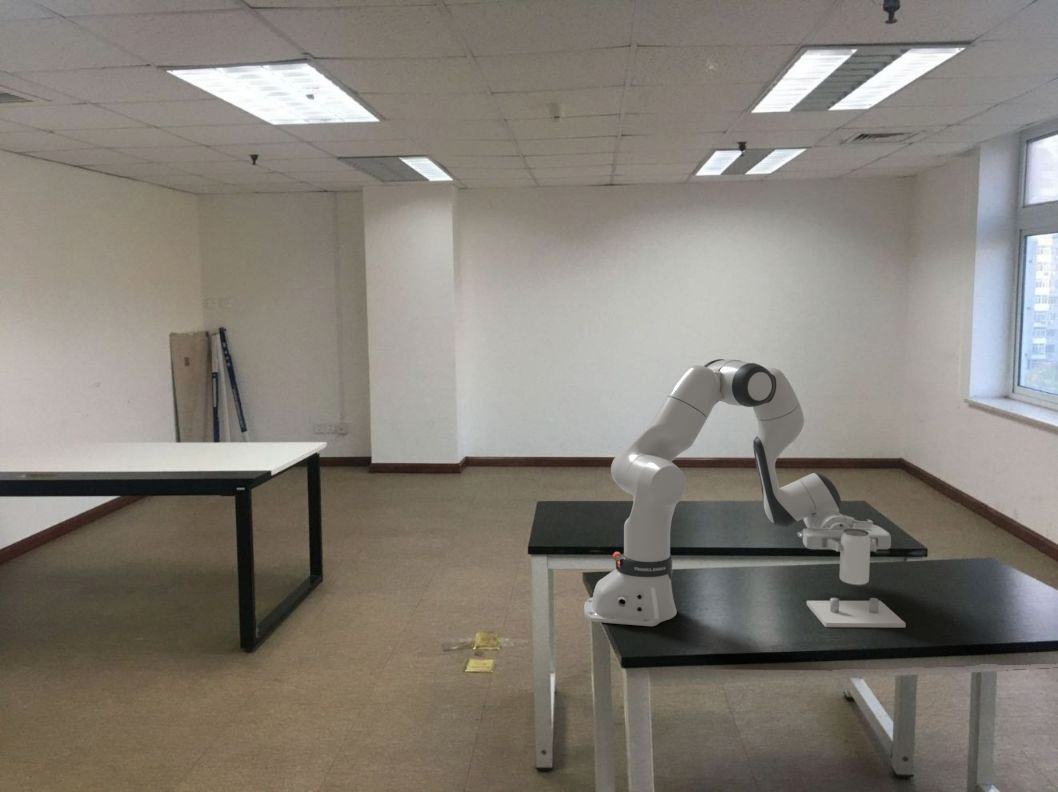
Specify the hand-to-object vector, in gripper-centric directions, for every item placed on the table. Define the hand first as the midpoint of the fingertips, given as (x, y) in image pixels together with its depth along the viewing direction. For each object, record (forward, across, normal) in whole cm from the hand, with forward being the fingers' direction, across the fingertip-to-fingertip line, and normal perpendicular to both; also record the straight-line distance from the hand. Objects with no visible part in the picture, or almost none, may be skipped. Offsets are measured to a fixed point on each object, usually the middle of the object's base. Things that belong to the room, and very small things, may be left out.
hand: (857, 548), depth 180 cm
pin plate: (-1, 0, +17) cm, 17 cm away
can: (-1, 0, +8) cm, 9 cm away
